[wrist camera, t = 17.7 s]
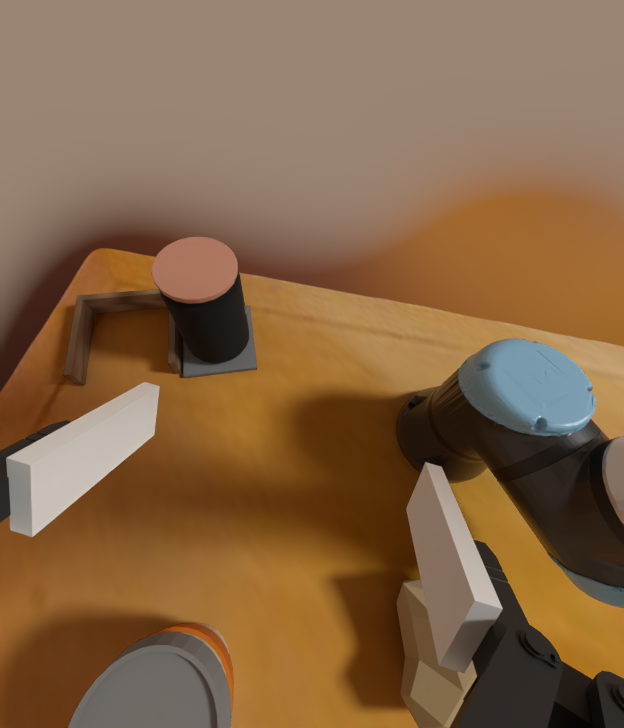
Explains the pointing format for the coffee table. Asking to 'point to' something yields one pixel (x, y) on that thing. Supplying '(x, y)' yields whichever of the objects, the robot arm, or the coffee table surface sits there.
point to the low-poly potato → (427, 665)
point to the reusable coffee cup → (164, 683)
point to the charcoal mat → (239, 363)
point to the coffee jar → (204, 297)
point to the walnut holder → (105, 304)
